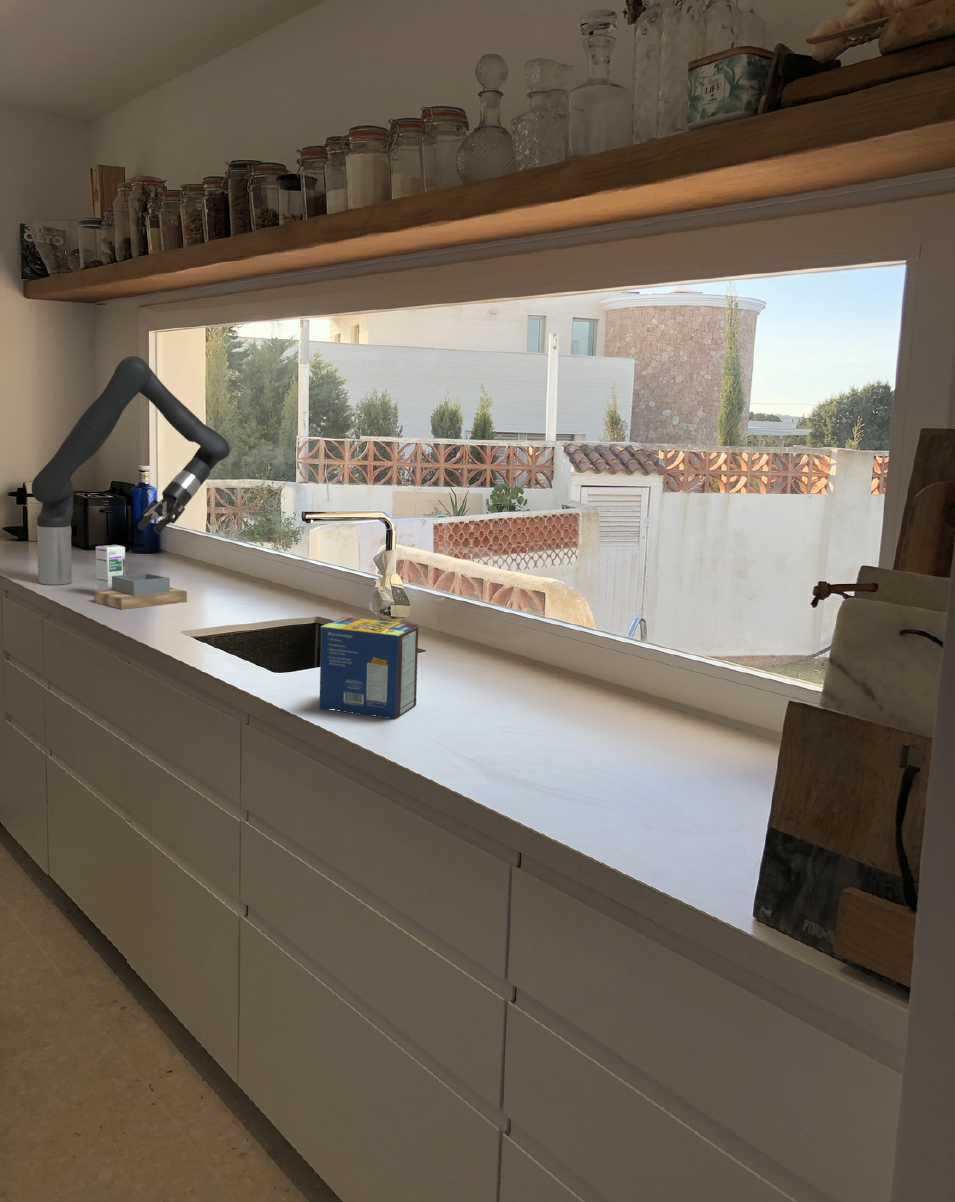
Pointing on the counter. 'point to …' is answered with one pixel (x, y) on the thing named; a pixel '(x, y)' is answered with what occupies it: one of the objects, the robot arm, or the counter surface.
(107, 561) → the syrup box
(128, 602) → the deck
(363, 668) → the protein box
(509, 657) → the counter surface
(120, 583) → the grey square frame
